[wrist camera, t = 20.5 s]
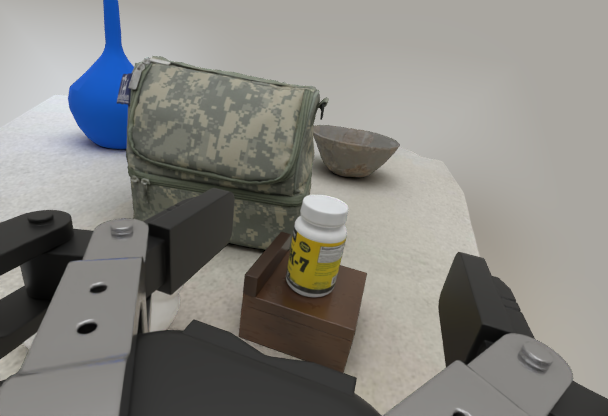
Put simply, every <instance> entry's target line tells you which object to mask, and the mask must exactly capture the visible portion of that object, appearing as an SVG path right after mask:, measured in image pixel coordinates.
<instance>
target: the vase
mask: <svg viewBox="0 0 608 416" xmlns="http://www.w3.org/2000/svg"><path fill="white" fill-rule="evenodd" d="M103 4H104V24H105V40H106V44H105V49H104V51H103V53H102V55H101V56H100V57H99V59H98V60H97V61H96V62H95V63H94V64H93V65H92V66H91V67H90V68H89V69H88V70H87V71H86V73H84V74H83V75H82V76H81V77H80V78H79V79H78V80H77V81H76V82H75V83H73V84H72V85H71V86H70V89H69V96H68V101H69V108H70V110H71V112H72V114H73V116H74V118H75V120H76V122H77V124H78V126H79V127H80V129H81V130H82V131H83V132H84V133H85V135H86V136H87V137H88V138H89V139H90V140H92V141H93V142H94V143H95V144H97V145H99V146H102V147H106V148H112V149H126V148H127V120H128V105H126V104H121V103H118V104H117V98H118V93H119V88H120V83H121V79H122V76H123V74H129V73H132V71H133V68H134V67H133V65H132V64H131V63H130V62H129V60H128V59H127V57H126V55H125V54H124V52H123V48H122V44H121V29H120V18H119V6H118V0H103Z"/></svg>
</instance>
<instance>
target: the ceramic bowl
mask: <svg viewBox="0 0 608 416" xmlns="http://www.w3.org/2000/svg"><path fill="white" fill-rule="evenodd" d="M313 136H314V139H315V141H316V143H317V147H318V149H319V152H320V155H321V158H322V160H323V162H324V163H325V165H326V166H327V168H328V169H329V170H331V171H332V172H334V173H335V174H337V175H340V176H351V177H364V176H367V175H370V174H371V173H373V172H374V171H376V170H377V169H378V168H379V167H381V166H382V165H383V164H384V163H385V162H386V161H387V160H388V159H389V158H390V157H391V156H392V155H393V154H394V153H395V151H396V150H397V149H398V147H399V146H400V144H399V143H398V142H397V141H396V140H394V139H392V138H389V137H387V136H383V135H380V134H377V133H373V132H370V131H364V130H356V129H352V128H351V129H349V128H344V127H336V126H329V125H317V126H314V132H313Z"/></svg>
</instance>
